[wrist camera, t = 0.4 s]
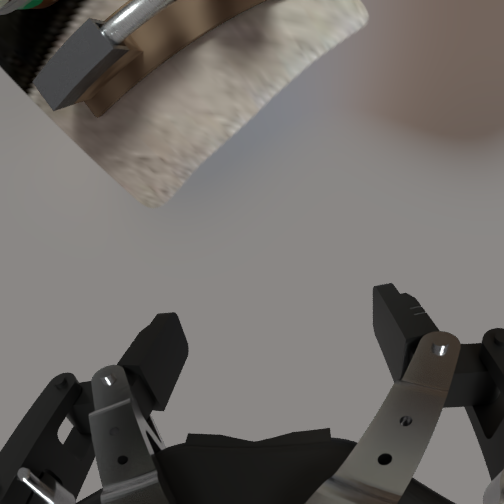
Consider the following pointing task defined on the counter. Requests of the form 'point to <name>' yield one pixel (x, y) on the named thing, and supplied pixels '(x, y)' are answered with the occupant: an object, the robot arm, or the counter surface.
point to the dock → (159, 45)
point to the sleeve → (77, 65)
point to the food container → (23, 5)
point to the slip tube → (132, 18)
